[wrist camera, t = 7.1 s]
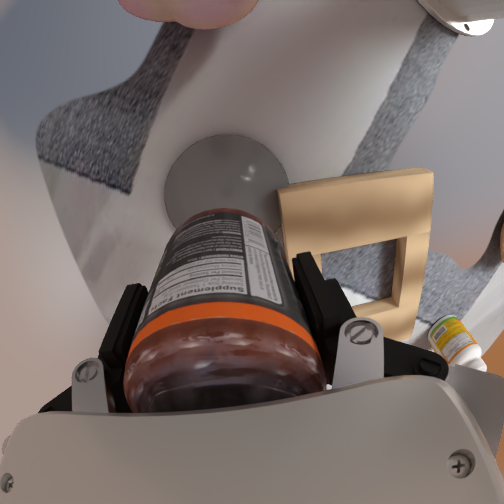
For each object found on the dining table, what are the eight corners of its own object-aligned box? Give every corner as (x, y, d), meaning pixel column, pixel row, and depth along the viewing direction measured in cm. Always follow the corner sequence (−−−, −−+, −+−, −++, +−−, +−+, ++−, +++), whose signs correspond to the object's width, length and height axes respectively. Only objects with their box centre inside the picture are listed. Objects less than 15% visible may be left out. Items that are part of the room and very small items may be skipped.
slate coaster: (152, 150, 22) (150, 152, 21) (278, 124, 21) (279, 125, 21) (183, 260, 26) (183, 263, 26) (294, 239, 26) (296, 242, 26)
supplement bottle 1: (280, 302, 17) (326, 502, 7) (175, 307, 16) (144, 507, 6) (284, 200, 14) (393, 423, 4) (159, 206, 14) (50, 428, 4)
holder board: (275, 186, 24) (279, 194, 22) (421, 167, 23) (433, 172, 22) (297, 354, 33) (301, 367, 32) (404, 327, 33) (411, 337, 31)
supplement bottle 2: (452, 334, 35) (483, 380, 27) (423, 347, 36) (453, 397, 27) (459, 308, 33) (496, 355, 24) (429, 321, 33) (465, 373, 25)
